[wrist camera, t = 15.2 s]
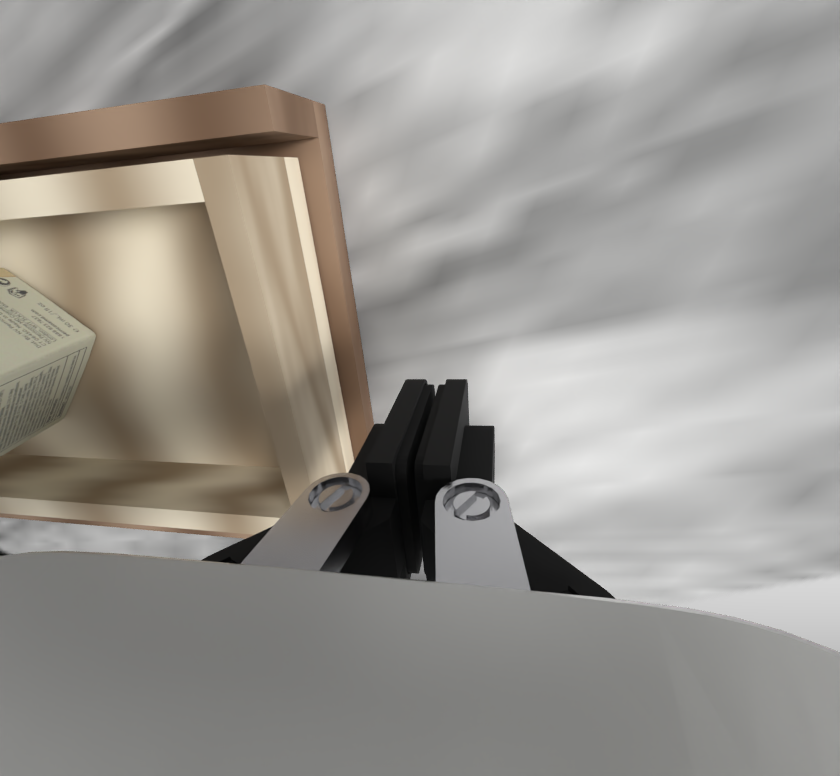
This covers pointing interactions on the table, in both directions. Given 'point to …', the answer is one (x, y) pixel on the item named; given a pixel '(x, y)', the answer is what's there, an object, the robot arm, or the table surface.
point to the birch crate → (179, 344)
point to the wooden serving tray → (205, 137)
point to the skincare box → (36, 361)
